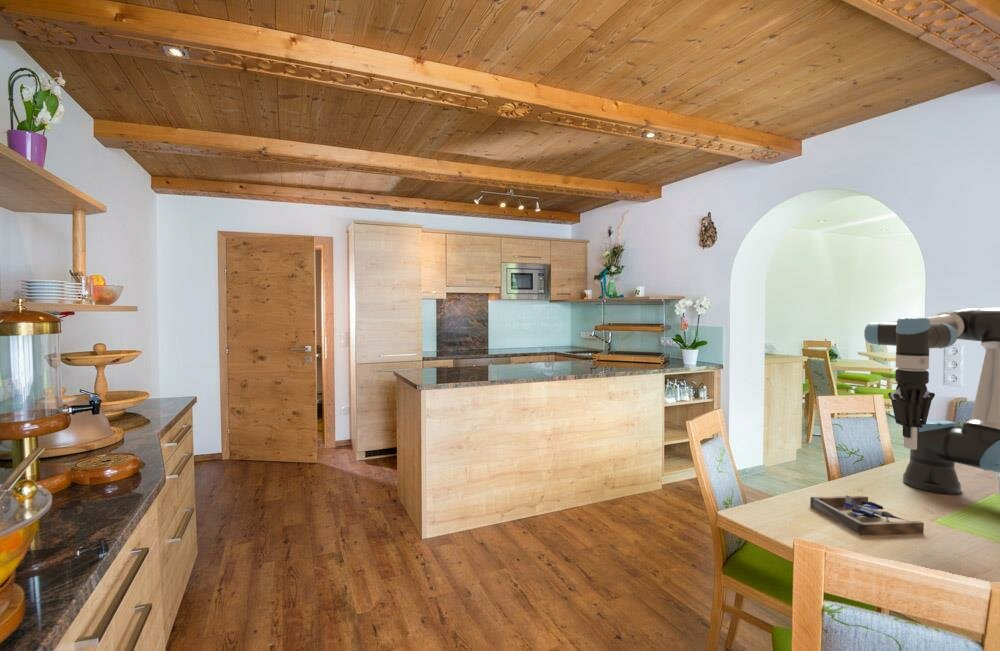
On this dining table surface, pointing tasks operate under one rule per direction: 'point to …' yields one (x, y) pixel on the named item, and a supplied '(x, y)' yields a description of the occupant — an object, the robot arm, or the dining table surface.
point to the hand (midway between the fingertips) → (910, 448)
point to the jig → (872, 528)
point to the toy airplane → (867, 509)
